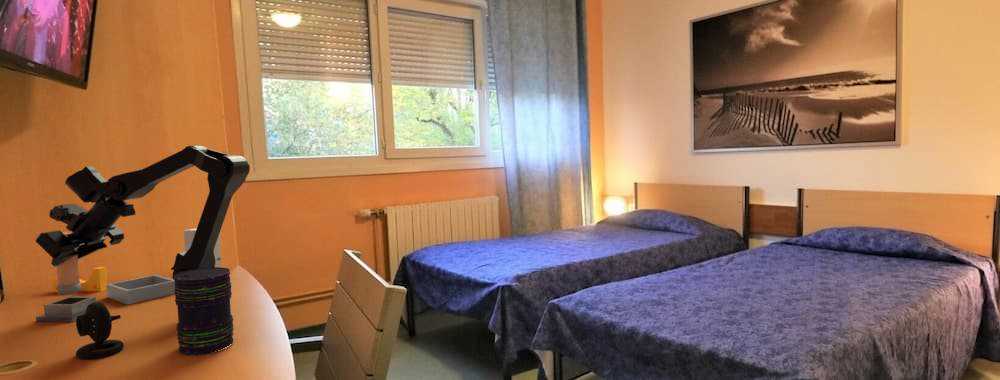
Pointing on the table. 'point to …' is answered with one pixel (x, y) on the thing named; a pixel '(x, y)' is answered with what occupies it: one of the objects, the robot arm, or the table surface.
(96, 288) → the pipe clamp
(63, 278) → the tan rounded tapered piece
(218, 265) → the skincare box
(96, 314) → the webcam
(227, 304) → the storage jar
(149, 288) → the bin
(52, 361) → the table surface
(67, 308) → the stud base
